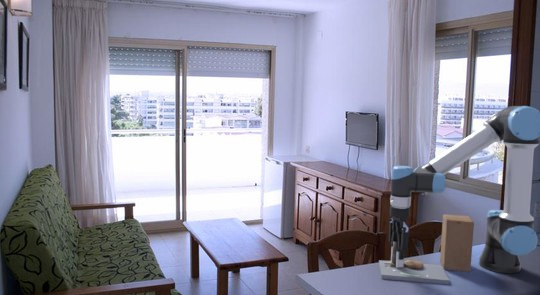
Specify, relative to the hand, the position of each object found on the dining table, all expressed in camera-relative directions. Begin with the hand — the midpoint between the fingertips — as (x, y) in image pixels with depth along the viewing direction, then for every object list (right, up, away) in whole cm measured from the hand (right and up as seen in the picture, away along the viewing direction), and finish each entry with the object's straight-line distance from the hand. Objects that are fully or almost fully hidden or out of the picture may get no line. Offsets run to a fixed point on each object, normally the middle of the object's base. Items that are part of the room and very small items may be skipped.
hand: (396, 264), depth 185 cm
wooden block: (+25, -2, +6) cm, 25 cm away
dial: (+3, 0, 0) cm, 3 cm away
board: (+5, -3, -3) cm, 7 cm away
